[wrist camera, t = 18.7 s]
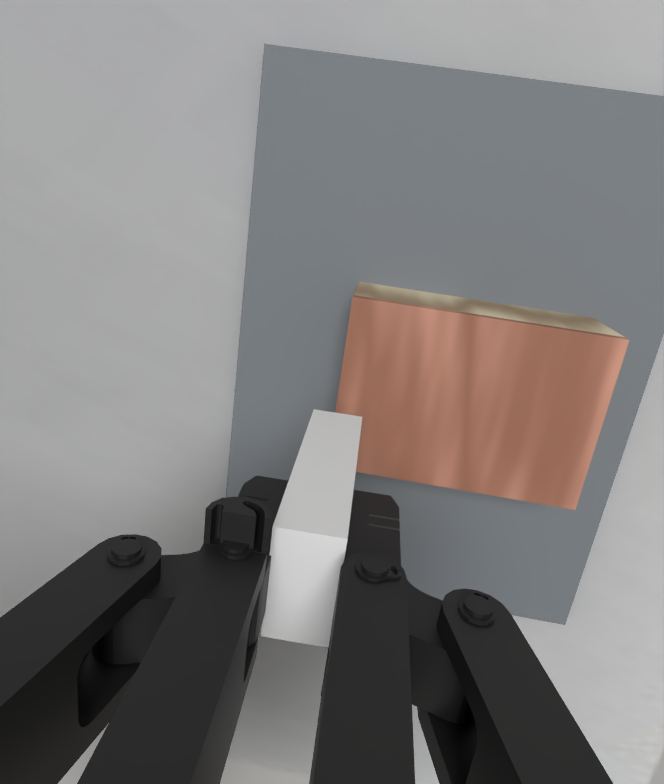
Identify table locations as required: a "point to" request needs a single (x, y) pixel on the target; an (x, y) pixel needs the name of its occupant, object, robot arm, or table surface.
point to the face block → (477, 392)
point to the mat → (447, 273)
